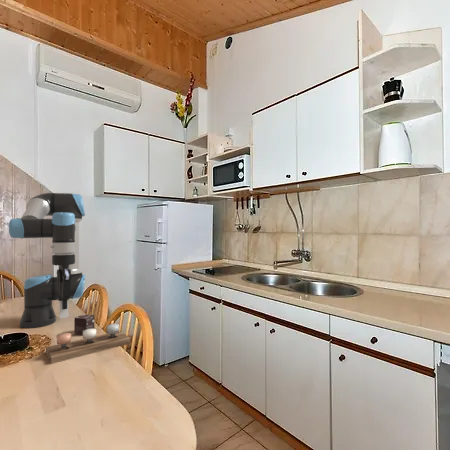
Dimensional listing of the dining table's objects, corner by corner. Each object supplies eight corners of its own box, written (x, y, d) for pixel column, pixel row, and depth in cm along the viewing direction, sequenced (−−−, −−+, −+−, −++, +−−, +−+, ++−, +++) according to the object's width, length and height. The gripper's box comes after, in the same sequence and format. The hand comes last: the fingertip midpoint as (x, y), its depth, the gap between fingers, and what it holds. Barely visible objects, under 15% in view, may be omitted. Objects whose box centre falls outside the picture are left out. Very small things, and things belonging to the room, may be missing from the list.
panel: (45, 352, 112) (45, 347, 112) (119, 335, 130) (119, 330, 130) (51, 363, 103) (51, 357, 103) (130, 343, 121) (130, 338, 121)
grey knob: (105, 336, 123) (104, 325, 123) (116, 333, 126) (116, 323, 126) (108, 339, 119) (108, 328, 119) (120, 336, 122) (120, 326, 122)
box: (86, 335, 130) (85, 318, 130) (73, 334, 131) (73, 317, 131) (94, 330, 136) (94, 314, 136) (83, 329, 137) (83, 313, 137)
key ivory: (81, 341, 117) (81, 330, 117) (94, 338, 120) (94, 327, 120) (84, 345, 113) (84, 333, 113) (97, 342, 116) (97, 330, 116)
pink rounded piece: (55, 346, 111) (55, 335, 111) (69, 343, 114) (69, 332, 114) (57, 351, 108) (57, 338, 108) (72, 347, 111) (72, 335, 111)
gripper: (49, 253, 114) (49, 315, 114) (55, 255, 104) (55, 323, 104) (70, 252, 119) (71, 311, 118) (79, 254, 109) (79, 319, 108)
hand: (63, 317), depth 111 cm, fingers closed
